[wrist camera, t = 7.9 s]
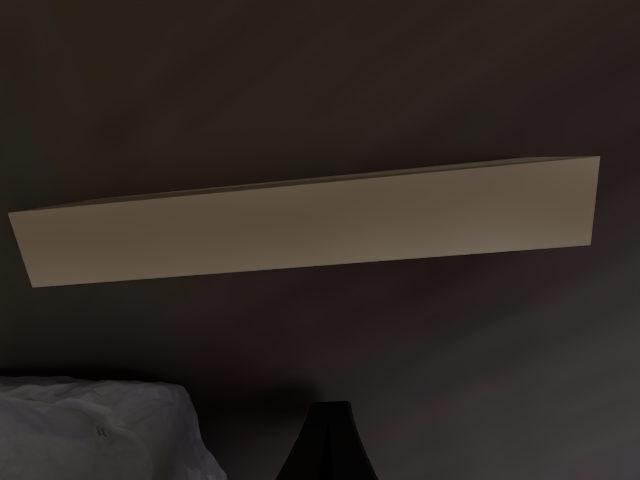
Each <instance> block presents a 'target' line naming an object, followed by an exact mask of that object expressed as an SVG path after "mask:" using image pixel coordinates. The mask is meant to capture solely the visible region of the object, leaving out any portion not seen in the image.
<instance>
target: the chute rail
mask: <svg viewBox="0 0 640 480" xmlns="http://www.w3.org/2000/svg"><path fill="white" fill-rule="evenodd" d="M599 161H600V156H590V157H531V158H513V159H503V160H493V161H482V162H472V163H462V164H451V165H441V166H431V167H421V168H410V169H400V170H390V171H379V172H369V173H359V174H348V175H338V176H328V177H317V178H307V179H297V180H287V181H276V182H266V183H256V184H245V185H235V186H225V187H214V188H204V189H194V190H183V191H173V192H163V193H153V194H142V195H132V196H122V197H111V198H101V199H93V200H86V201H80V202H74V203H67V204H61V205H55V206H49V207H42V208H36V209H30V210H23V211H17V212H11V213H8V215H9V218H10V221H11V224H12V227H13V230H14V233H15V236H16V239H17V242H18V245H19V248H20V251H21V254H22V257H23V260H24V263H25V266H26V269H27V272H28V275H29V278H30V281H31V284H32V287H44V286H57V285H70V284H83V283H96V282H110V281H123V280H136V279H149V278H162V277H175V276H188V275H202V274H215V273H228V272H241V271H254V270H267V269H280V268H293V267H307V266H320V265H333V264H346V263H359V262H372V261H385V260H398V259H412V258H425V257H438V256H451V255H464V254H477V253H490V252H504V251H517V250H530V249H543V248H556V247H569V246H582V245H590V244H591V235H592V226H593V217H594V207H595V198H596V189H597V180H598V170H599Z"/></svg>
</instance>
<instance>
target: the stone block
mask: <svg viewBox="0 0 640 480" xmlns="http://www.w3.org/2000/svg"><path fill="white" fill-rule="evenodd" d="M0 480H227V475H226V473H225V472H224V471H223V470H222V469H221V468H220V466H219V464H218V463H217V461H216V459H215V458H214V457H213V455H212V454H211V453H210V452H209V451H208V450H207V449H206V447H205V445H204V443H203V441H202V439H201V434H200V430H199V425H198V416H197V413H196V411H195V409H194V406H193V404H192V402H191V399H190V395H189V394H188V392H187V391H186V389H185V388H184V387H183V386H181V385H178V384H170V383H165V382H160V381H158V382H142V381H126V380H122V381H118V380H99V381H91V380H85V379H75V378H72V377H69V376H54V377H40V376H22V377H5V376H0Z"/></svg>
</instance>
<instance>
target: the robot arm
mask: <svg viewBox="0 0 640 480" xmlns="http://www.w3.org/2000/svg"><path fill="white" fill-rule="evenodd" d="M276 480H378V478H377V476H376V474H375V472H374V470H373V468H372V466H371V463H370V461H369V459H368V457H367V454H366V452H365V449H364V447H363V445H362V442H361V440H360V437H359V434H358V431H357V428H356V425H355V422H354V418H353V414H352V409H351V403H349V402H348V401H336V402H315V403H312V404H311V405H310V409H309V412H308V414H307V417H306V420H305V422H304V424H303V427H302V429H301V431H300V434H299V436H298V438H297V440H296V442H295V444H294V446H293V448H292V450H291V452H290V454H289V456H288V458H287V460H286V462H285V464H284V465H283V467H282V469H281V471H280V472H279V474H278V476H277V478H276Z"/></svg>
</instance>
